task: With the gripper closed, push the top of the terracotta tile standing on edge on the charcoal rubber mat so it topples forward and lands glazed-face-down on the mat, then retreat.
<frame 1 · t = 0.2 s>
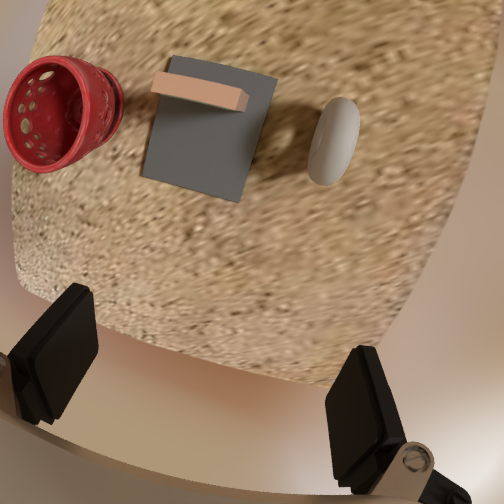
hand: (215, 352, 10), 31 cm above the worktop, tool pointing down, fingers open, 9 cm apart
donut: (324, 137, 36), on the worktop
tile: (214, 95, 34), point 1 cm above the worktop, touching mat
mat: (206, 126, 36), on the worktop
plant pot: (94, 109, 35), on the worktop
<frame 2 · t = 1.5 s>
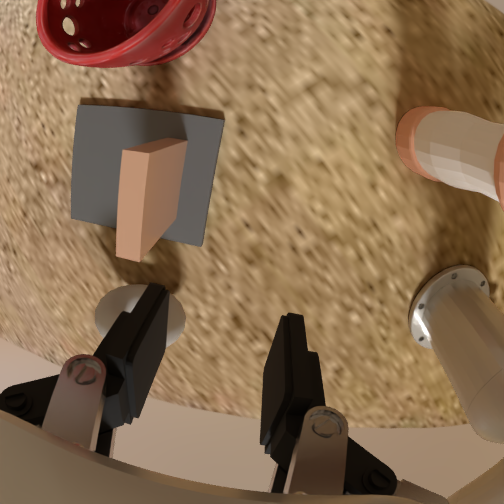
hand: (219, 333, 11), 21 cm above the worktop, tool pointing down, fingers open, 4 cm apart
donut: (154, 291, 36), on the worktop
pepper shaker: (425, 140, 27), on the worktop
tile: (171, 178, 30), point 1 cm above the worktop, touching mat
mat: (138, 171, 30), on the worktop
plant pot: (159, 19, 24), on the worktop
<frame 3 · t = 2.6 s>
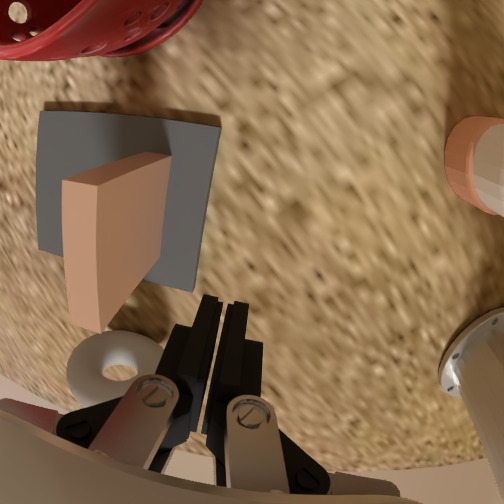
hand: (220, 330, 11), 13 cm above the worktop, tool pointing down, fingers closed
donut: (139, 337, 29), on the worktop
pepper shaker: (477, 159, 20), on the worktop
tile: (152, 206, 23), point 1 cm above the worktop, touching mat
mat: (111, 194, 23), on the worktop
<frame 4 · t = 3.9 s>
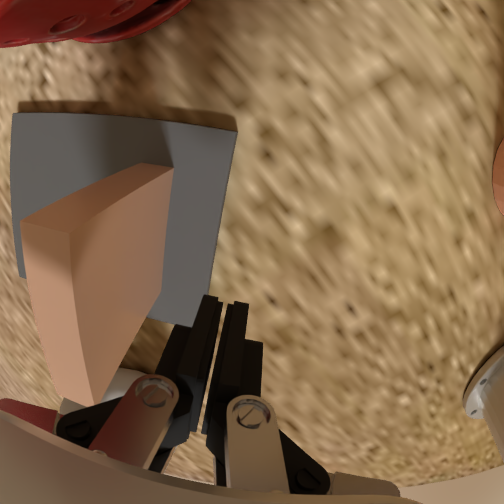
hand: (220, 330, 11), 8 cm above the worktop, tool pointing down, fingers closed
donut: (139, 373, 25), on the worktop
tile: (150, 230, 18), point 1 cm above the worktop, touching mat
mat: (99, 214, 19), on the worktop
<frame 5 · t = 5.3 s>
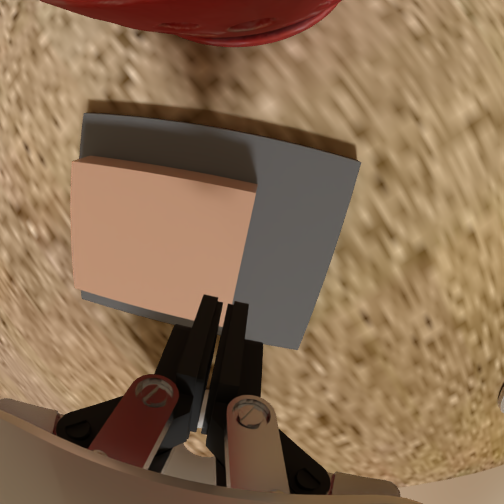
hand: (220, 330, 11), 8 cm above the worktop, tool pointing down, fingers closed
donut: (214, 392, 25), on the worktop
tile: (241, 259, 17), point 2 cm above the worktop, tilted 90°, touching mat
mat: (197, 235, 19), on the worktop
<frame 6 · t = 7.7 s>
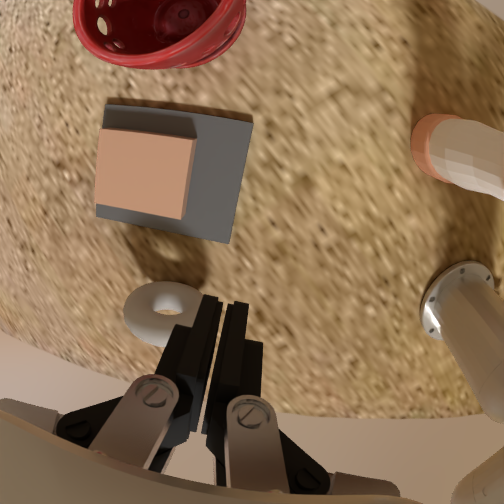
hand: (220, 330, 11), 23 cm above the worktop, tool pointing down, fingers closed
donut: (179, 287, 38), on the worktop
pepper shaker: (437, 145, 29), on the worktop
tile: (188, 178, 30), point 2 cm above the worktop, tilted 90°, touching mat
mat: (166, 170, 32), on the worktop
plant pot: (188, 23, 25), on the worktop
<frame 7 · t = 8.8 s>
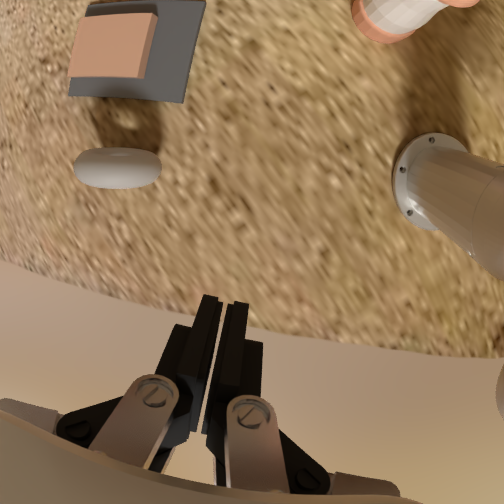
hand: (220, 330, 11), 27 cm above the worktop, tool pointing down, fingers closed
donut: (135, 158, 36), on the worktop
pepper shaker: (380, 17, 27), on the worktop
tile: (147, 45, 28), point 2 cm above the worktop, tilted 90°, touching mat
mat: (131, 48, 30), on the worktop
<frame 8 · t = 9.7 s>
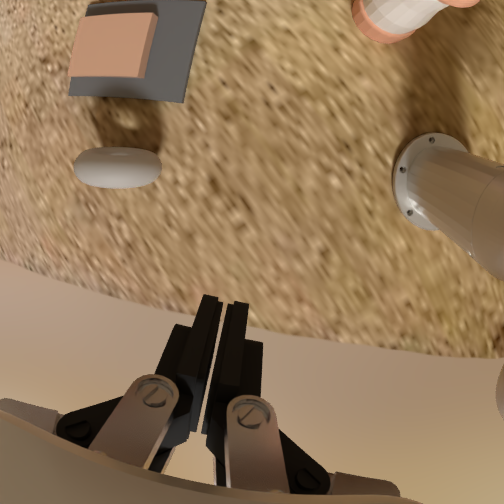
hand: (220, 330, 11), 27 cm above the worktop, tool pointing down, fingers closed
donut: (136, 158, 36), on the worktop
pepper shaker: (380, 17, 27), on the worktop
tile: (147, 45, 28), point 2 cm above the worktop, tilted 90°, touching mat
mat: (132, 47, 30), on the worktop
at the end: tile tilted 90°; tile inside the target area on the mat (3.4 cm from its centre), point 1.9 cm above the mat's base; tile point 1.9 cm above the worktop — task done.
